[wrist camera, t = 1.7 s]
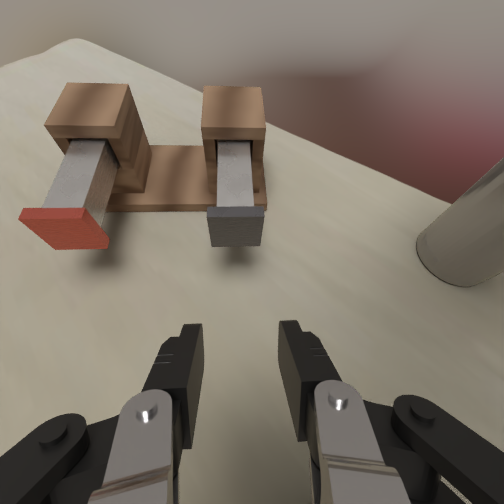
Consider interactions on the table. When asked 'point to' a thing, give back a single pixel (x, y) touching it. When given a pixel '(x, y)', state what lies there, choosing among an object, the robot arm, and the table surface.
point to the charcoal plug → (235, 199)
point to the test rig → (162, 156)
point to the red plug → (77, 198)
